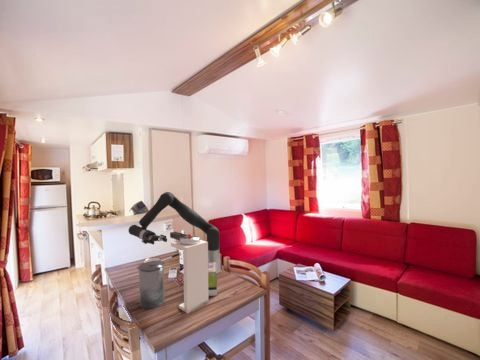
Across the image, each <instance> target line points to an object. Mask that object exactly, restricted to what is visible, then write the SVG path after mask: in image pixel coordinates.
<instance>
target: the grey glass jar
mask: <svg viewBox="0 0 480 360" xmlns="http://www.w3.org/2000/svg"><path fill="white" fill-rule="evenodd" d="M137 269H138V279H139V280H138V281H139V282H138V285H139V291H138V292H139V307H140V308H141V309H143V310H144V309H145V310H150V309H152V310H153V309H155V308H158V307H160V306H161V305H163V304H164V302H165V262H164V261H149V262H145V263H143V262H142V263H141V264H139V265H138V267H137Z"/></svg>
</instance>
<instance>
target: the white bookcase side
mask: <svg viewBox="0 0 480 360" xmlns="http://www.w3.org/2000/svg"><path fill="white" fill-rule="evenodd" d="M170 247H173V248H175V249H177V250H181V251H182V252H183V254H182V255H183V260H182V261H183V267H182V268H183V302H182V303H180V304H178V308H179V309H180V310H181V311H183V312H185V313H186V314H190V313H191V312H193V311H196V310H197V309H199V308H201V307H203V306H204V305H207V304H208V303H209V297H210V296H208V242H207V240H206V241H205V240H203V239H200V243H198V244H195V245H181V244H180V241H179V240H176V241H171V242H170Z"/></svg>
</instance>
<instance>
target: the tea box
mask: <svg viewBox="0 0 480 360" xmlns="http://www.w3.org/2000/svg"><path fill="white" fill-rule="evenodd" d="M217 292H218V274H217V263H216V262H213V263H208V297H211V296H213V297H215V296H217V295H218V293H217Z"/></svg>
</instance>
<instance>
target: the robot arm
mask: <svg viewBox="0 0 480 360" xmlns="http://www.w3.org/2000/svg"><path fill="white" fill-rule="evenodd" d="M168 206H169V207H170V208H172V209H174V211H176V212H177V214H178V215H179V216H180V217H181V218H182V219H183V220H184V221H186V222H187V223H188V224H189V225H191V226H193V227H196V228H197V229H200V231H202V232H203V233H205V235H206V242H208V263H213V262H216V263H217V275H218V274H219V273H221V272H222V270H221V268H222V265H221V264H222V263H221V261H222V260H221V258H220V246H221V243H220V241H221V240H220V239H221V238H220V235H221V234H220V230H219V229H218V228H217V227H216V226H215V225H213V224H211V223H210V222H208V221H206V220H205V218H203V217H202V216H201V215H200V214H199V213H197V212H196V211H195V210H194V209H192V208H191V207H190V206H188V205H187V204H186V203H184V202H182V201H180V199H178V197H177V196H175V195H174V193H172V192H170V191H165V192H163V193H162V194H160V196H159V198H158V199H157V200H156V202H155V204H154V205H153V206H152V207H151V208H150V209H149V210H148V211H147V212H146V213H145V214H144V215H143V216H142V217H141V218H140V220H139V221H138V223H139V225H137V224H131V225H130V226H129V228H128V234H129V235H131V236H134V237H136V238H138V239H140V240H141V242H142V243H143V244H145V245H147V244H151V245H155V242H163V243H167V242H168V238H167V235H164V234H160V235H157V234H156V233H155V232H154V231H152V230H150V229H147V228H148V227H149V226H150V225H151V224H152V222H154V220H155V219H156V218H157V216H158V215H160V213H161V212H162V211H163V210H164V209H165V208H166V207H168Z"/></svg>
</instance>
